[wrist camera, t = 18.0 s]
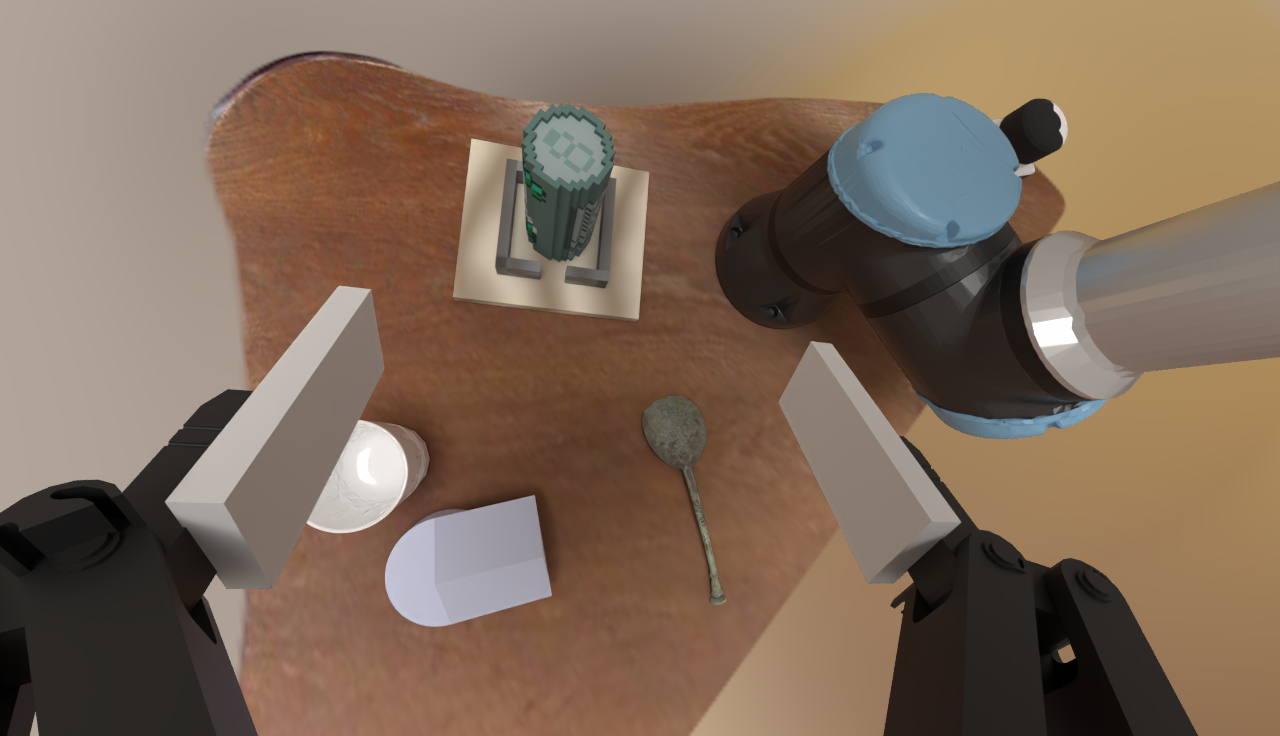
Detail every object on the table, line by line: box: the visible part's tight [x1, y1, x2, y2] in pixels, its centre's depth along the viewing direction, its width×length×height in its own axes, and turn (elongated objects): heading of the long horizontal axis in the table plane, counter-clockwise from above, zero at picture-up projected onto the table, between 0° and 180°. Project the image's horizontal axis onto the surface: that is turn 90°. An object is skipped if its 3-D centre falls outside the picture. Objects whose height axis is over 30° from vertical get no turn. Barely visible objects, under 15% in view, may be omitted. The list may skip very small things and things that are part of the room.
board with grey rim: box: [453, 139, 649, 322], centre depth 45 cm, size 18×16×4 cm
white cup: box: [307, 420, 430, 533], centre depth 37 cm, size 8×8×10 cm
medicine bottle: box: [992, 99, 1068, 179], centre depth 54 cm, size 7×7×12 cm
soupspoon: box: [642, 395, 727, 605], centre depth 47 cm, size 22×3×7 cm
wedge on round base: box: [385, 495, 552, 627], centre depth 40 cm, size 9×7×13 cm
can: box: [522, 103, 616, 263], centre depth 39 cm, size 6×6×15 cm
